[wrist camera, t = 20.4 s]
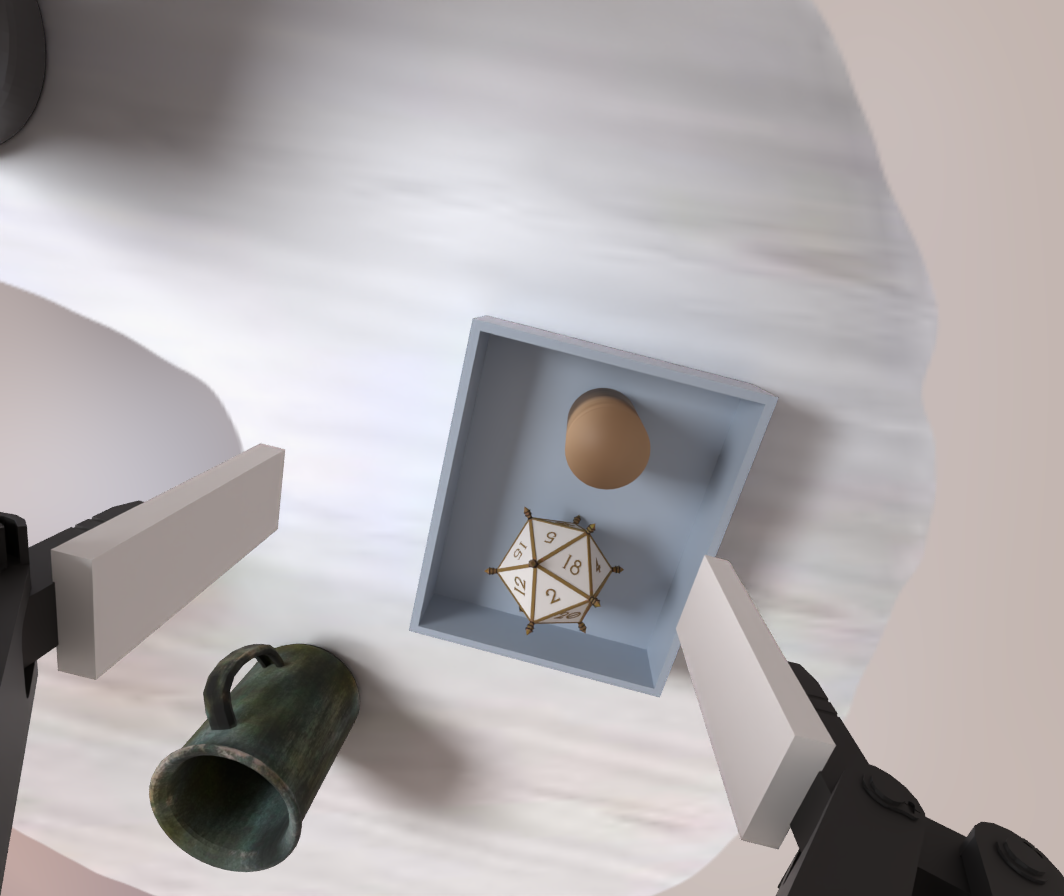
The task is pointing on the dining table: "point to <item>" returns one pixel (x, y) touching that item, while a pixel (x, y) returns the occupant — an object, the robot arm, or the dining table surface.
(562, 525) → the game die
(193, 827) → the mug
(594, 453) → the walnut cylinder
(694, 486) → the tote
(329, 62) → the dining table surface
